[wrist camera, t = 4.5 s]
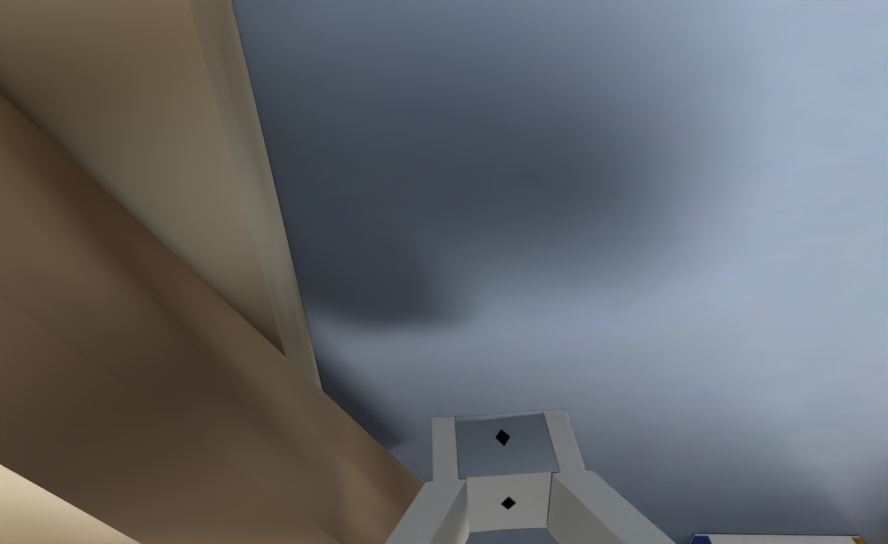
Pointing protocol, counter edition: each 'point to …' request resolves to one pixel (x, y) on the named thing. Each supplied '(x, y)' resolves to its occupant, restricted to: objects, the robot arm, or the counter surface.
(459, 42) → the counter surface
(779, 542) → the beverage box
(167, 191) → the wooden board
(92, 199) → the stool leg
